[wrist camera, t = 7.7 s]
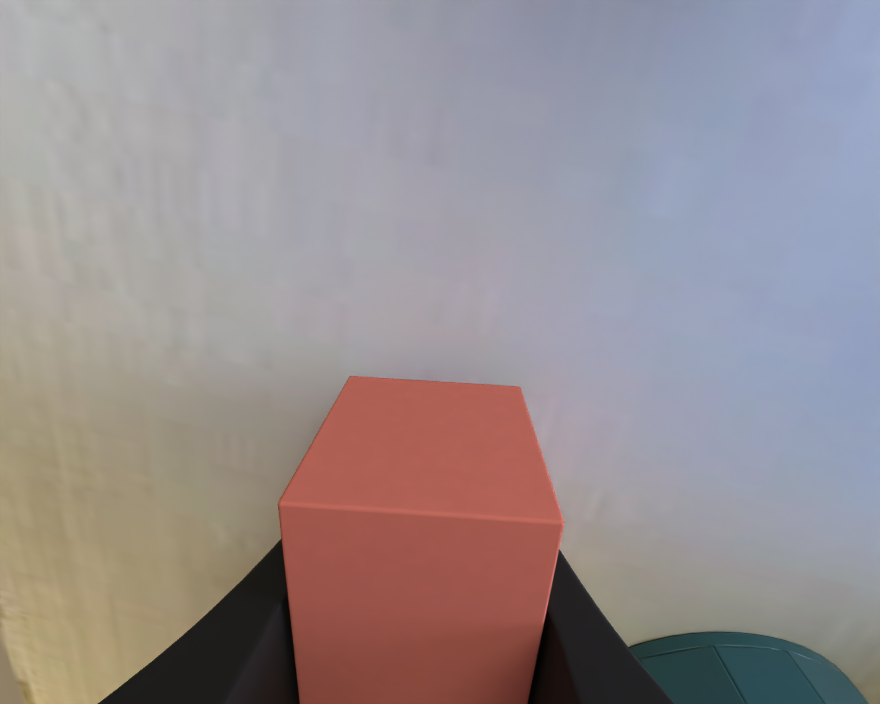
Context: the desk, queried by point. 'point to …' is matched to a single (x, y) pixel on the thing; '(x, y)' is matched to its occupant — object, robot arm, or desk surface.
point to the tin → (743, 671)
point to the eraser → (420, 546)
